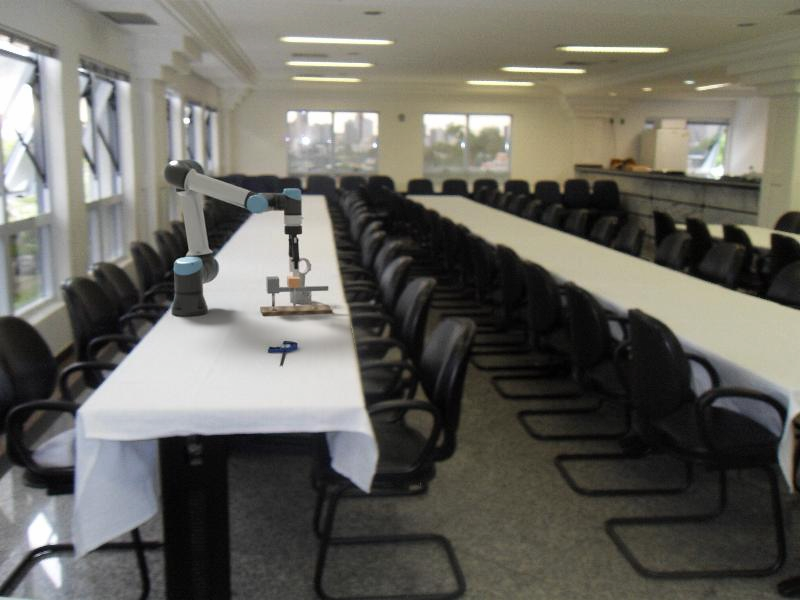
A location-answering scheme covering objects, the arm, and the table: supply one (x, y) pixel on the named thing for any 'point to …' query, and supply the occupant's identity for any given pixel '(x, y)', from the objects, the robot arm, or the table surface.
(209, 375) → the table surface
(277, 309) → the hole plate
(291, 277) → the block
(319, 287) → the grey piece
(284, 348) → the bar clamp
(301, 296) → the engine component
